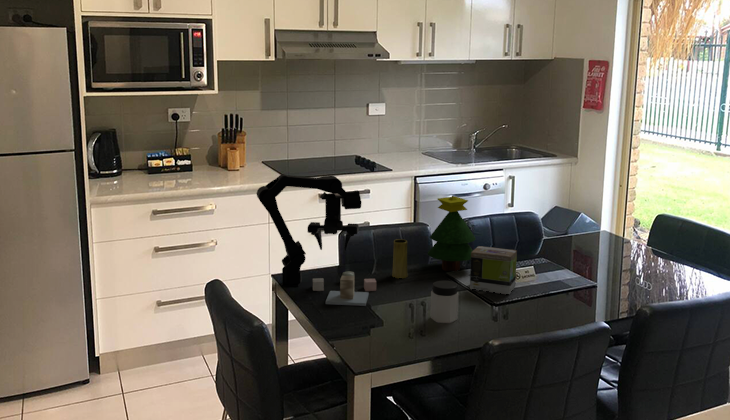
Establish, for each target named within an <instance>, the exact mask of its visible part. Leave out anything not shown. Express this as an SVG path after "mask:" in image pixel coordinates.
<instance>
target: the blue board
mask: <svg viewBox="0 0 730 420" xmlns="http://www.w3.org/2000/svg"><path fill="white" fill-rule="evenodd" d="M369 292H370V291H354V298H353V299H340V290H330V291H329V292H328V295H327V297H326V300H325V305H339V306H341V305H342V306H361V307H366V305H367V301H368V298H369V295H370V293H369Z"/></svg>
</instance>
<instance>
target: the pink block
mask: <svg viewBox="0 0 730 420" xmlns="http://www.w3.org/2000/svg"><path fill="white" fill-rule="evenodd" d="M363 288H364V292H375V291H377V280H376V278H364V279H363Z"/></svg>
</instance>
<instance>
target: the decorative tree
mask: <svg viewBox="0 0 730 420" xmlns="http://www.w3.org/2000/svg"><path fill="white" fill-rule="evenodd" d="M437 201H439V202H440V203H441V204H440V205H439V206H438V207H437V208H438V209H439V210H443V211H446V212H447V214H446V215H445V216H444V218H443V219H442V220H441V221H440V223H439V224H438V225H437V227H436V228H435V229H434V231H432V233H431V235H430V236H429V238H430V239H431V240H432V241H434V242H435V243H434V244H433V246H432V247H431V248H430V249H429V250H428V251H427V255H428V256H429V257H430V258H432V259H435V260H440V261H441V270H442V271H445V272H450V271H454V272H458V271H457V270H459V271H461V262H464V261H471V252H472V251H473V250H474V249H472V247H471V245H470V244H469V243H473V242H475V241H476V239H477V238H476V237H475V234H474V233H473V232H472V231H471V229H470V228H469V226H468V224H467V223H466V221H465V220H464V218H463V216H462V215H461V214H460V213H459V212H462V211H468V208H466V207H465V206H464V205H465V204H466V203H468V202H469V200H468V199H466V198H461V197H459V196H454V195H452V196H448V197H446V196H445V197H440V198H437Z"/></svg>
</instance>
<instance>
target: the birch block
mask: <svg viewBox="0 0 730 420" xmlns="http://www.w3.org/2000/svg"><path fill="white" fill-rule="evenodd" d="M355 279H356V278H355V275H354V276H343V275H341V277H340V280H339V281H340V283H339V287H340V288H339V289H340V290H339V291H340V299H353V298H354V292H355Z"/></svg>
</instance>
